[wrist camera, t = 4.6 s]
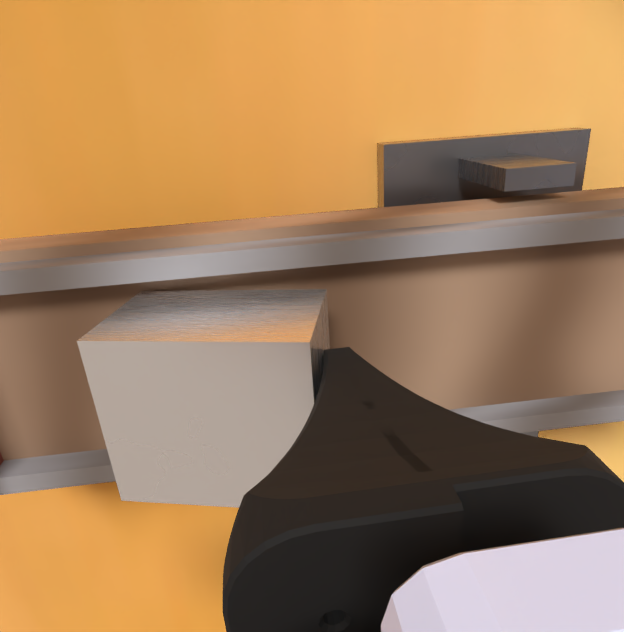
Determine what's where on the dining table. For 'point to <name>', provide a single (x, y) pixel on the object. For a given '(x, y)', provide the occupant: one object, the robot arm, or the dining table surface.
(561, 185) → the fulcrum stand
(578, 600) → the robot arm
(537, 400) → the beam
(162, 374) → the block
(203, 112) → the dining table surface
